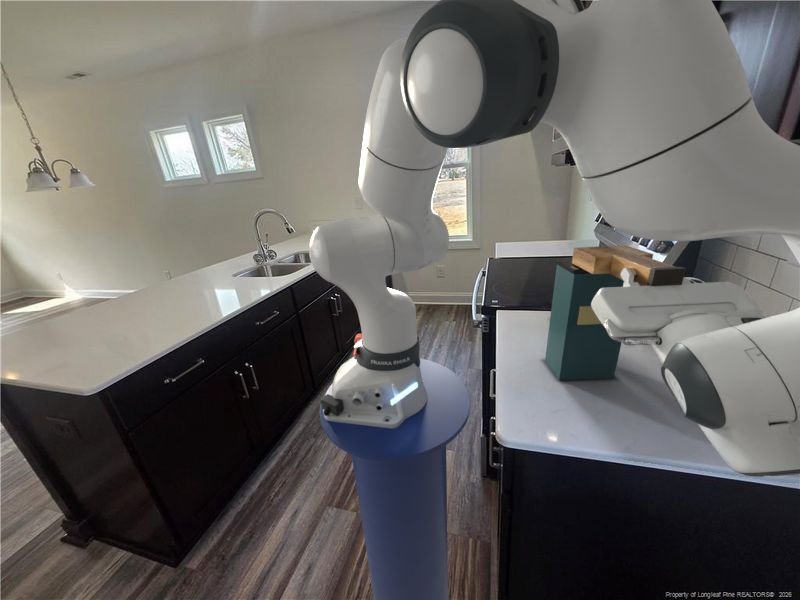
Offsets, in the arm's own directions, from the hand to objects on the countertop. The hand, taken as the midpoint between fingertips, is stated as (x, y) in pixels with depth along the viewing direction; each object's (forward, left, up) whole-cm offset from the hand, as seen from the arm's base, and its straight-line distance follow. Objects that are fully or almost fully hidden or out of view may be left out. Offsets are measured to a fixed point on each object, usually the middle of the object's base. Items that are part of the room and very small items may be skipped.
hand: (643, 269), depth 52 cm
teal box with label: (0, +14, -28) cm, 31 cm away
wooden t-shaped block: (0, +4, -2) cm, 5 cm away
